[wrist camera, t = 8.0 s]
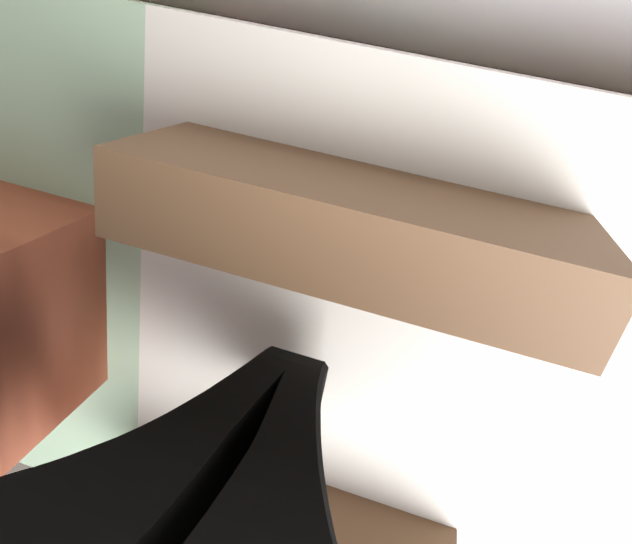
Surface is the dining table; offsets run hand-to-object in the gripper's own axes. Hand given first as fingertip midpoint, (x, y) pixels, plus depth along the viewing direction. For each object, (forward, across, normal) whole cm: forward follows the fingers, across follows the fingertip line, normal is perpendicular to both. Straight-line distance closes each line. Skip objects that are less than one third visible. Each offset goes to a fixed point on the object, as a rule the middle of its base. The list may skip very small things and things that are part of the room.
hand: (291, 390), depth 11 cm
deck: (+4, +4, 0) cm, 6 cm away
